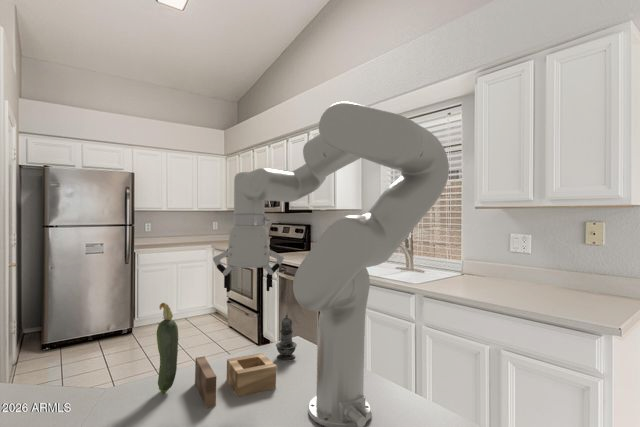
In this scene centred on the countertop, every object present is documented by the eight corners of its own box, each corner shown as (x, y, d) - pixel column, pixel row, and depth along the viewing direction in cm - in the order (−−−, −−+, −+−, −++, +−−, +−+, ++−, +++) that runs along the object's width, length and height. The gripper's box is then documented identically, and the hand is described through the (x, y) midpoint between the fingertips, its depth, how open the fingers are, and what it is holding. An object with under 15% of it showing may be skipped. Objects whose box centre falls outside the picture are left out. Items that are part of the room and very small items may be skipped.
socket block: (275, 387, 82) (276, 366, 82) (237, 396, 77) (237, 373, 77) (262, 372, 90) (262, 352, 90) (226, 380, 85) (227, 359, 85)
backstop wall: (215, 405, 74) (216, 376, 74) (205, 407, 73) (206, 378, 73) (203, 381, 84) (204, 356, 84) (194, 383, 83) (195, 357, 83)
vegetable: (180, 389, 80) (182, 300, 80) (170, 399, 76) (173, 305, 76) (161, 388, 80) (164, 299, 81) (150, 397, 76) (153, 304, 76)
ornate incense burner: (282, 352, 104) (283, 311, 104) (300, 355, 101) (301, 313, 101) (271, 359, 99) (272, 315, 99) (289, 363, 96) (290, 318, 96)
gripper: (283, 222, 94) (283, 287, 93) (216, 221, 91) (215, 288, 91) (284, 222, 86) (283, 292, 86) (211, 221, 84) (210, 294, 83)
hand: (248, 290), depth 88 cm, fingers open, 9 cm apart
